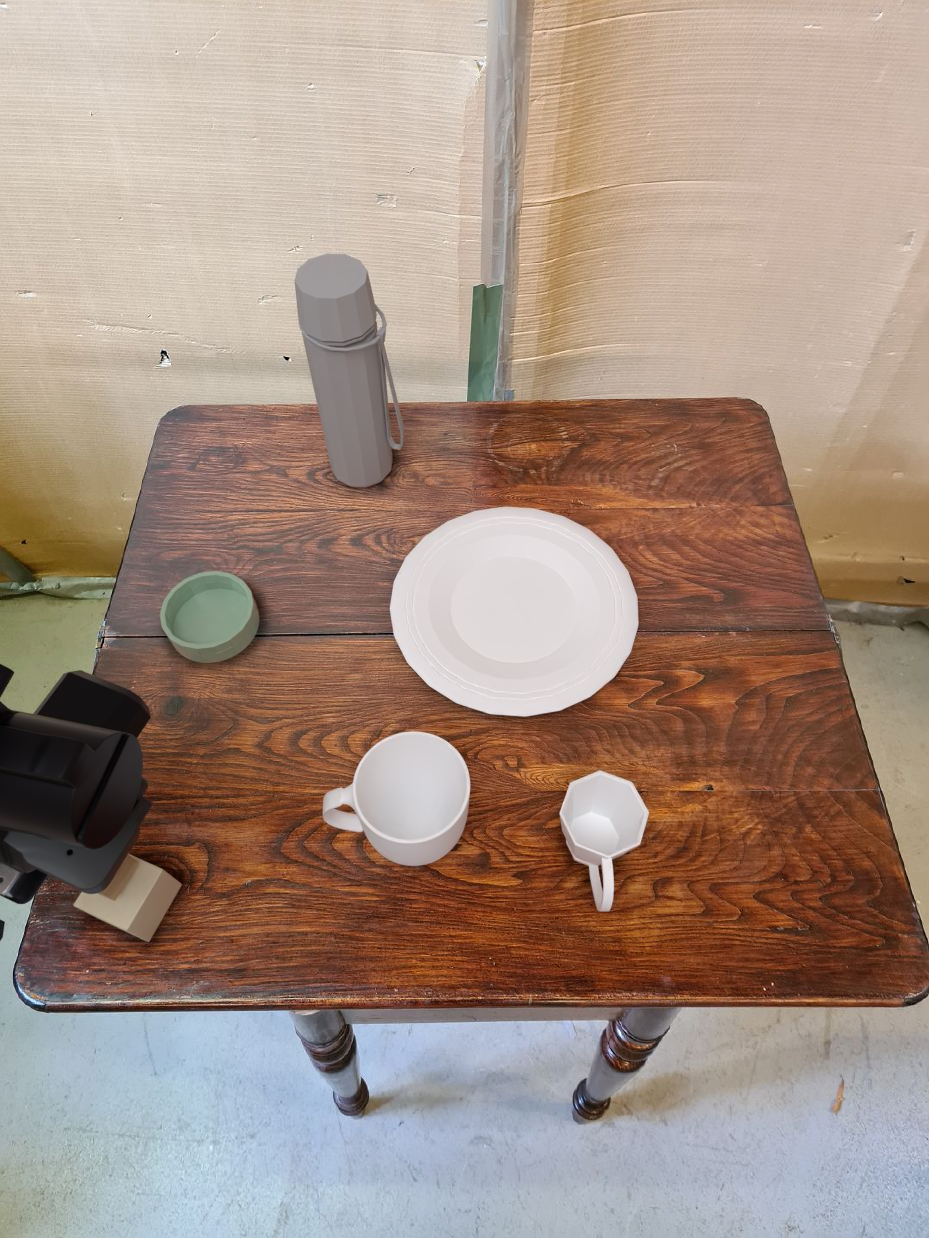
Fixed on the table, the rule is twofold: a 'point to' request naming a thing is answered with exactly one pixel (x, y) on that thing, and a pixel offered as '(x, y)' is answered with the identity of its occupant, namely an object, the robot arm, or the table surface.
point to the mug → (406, 798)
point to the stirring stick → (120, 879)
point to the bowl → (210, 616)
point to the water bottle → (347, 367)
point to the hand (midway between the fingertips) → (78, 851)
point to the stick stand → (135, 901)
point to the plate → (514, 611)
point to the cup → (602, 826)
